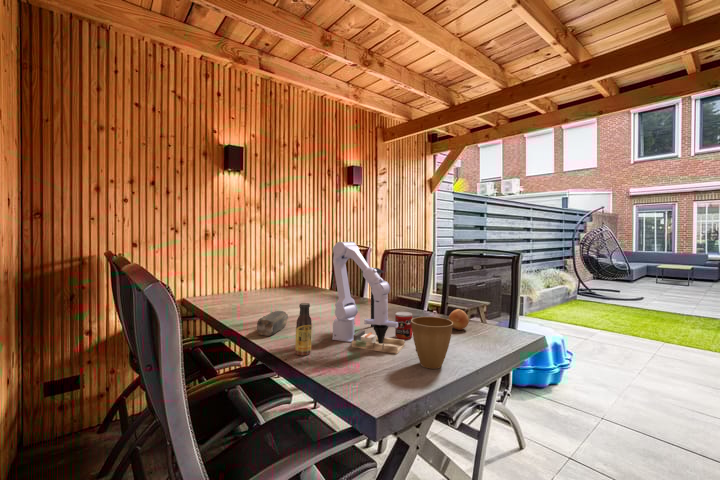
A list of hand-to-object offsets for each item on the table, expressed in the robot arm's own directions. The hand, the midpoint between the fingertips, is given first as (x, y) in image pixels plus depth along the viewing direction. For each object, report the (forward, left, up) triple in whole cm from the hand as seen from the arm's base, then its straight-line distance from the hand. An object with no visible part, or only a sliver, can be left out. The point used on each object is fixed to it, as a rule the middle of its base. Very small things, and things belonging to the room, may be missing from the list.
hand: (381, 342), depth 142 cm
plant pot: (+24, -11, -2) cm, 26 cm away
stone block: (-57, +1, -2) cm, 57 cm away
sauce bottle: (-25, -20, -2) cm, 32 cm away
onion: (+26, +41, -2) cm, 49 cm away
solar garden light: (-15, +28, -2) cm, 32 cm away
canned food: (+5, +17, -2) cm, 18 cm away
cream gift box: (-6, 0, -1) cm, 6 cm away
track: (-1, 0, -2) cm, 2 cm away
